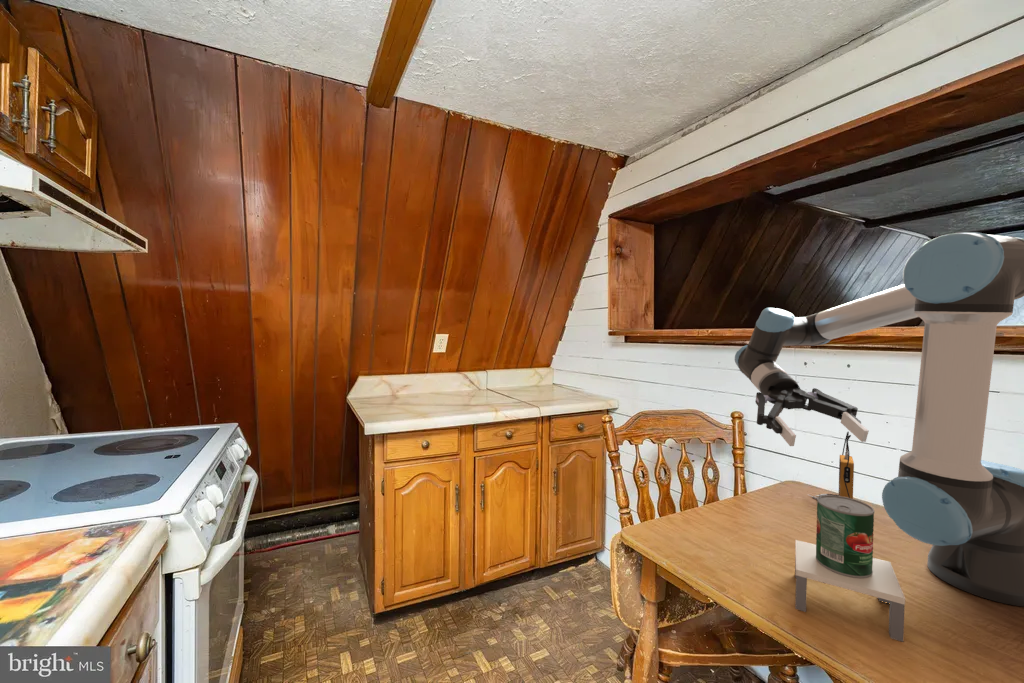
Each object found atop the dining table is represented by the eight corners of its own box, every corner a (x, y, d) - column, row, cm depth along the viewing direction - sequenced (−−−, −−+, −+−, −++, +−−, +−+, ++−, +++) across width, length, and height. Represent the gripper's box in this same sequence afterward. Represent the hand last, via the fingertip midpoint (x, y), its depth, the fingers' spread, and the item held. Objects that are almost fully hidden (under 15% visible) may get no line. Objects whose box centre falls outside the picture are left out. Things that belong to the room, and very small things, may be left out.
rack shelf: (888, 599, 75) (890, 561, 75) (903, 642, 65) (905, 598, 65) (794, 574, 83) (795, 539, 83) (795, 608, 73) (796, 569, 73)
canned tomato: (817, 548, 79) (818, 491, 79) (872, 563, 74) (873, 502, 74) (813, 567, 73) (815, 505, 73) (873, 584, 68) (875, 518, 68)
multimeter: (806, 490, 125) (808, 423, 124) (850, 498, 119) (852, 428, 118) (806, 507, 113) (808, 434, 112) (853, 517, 107) (856, 440, 106)
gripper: (825, 393, 104) (891, 449, 85) (721, 400, 106) (761, 457, 87) (831, 366, 101) (900, 418, 81) (723, 375, 103) (765, 427, 84)
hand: (828, 438), depth 84 cm, fingers open, 13 cm apart
